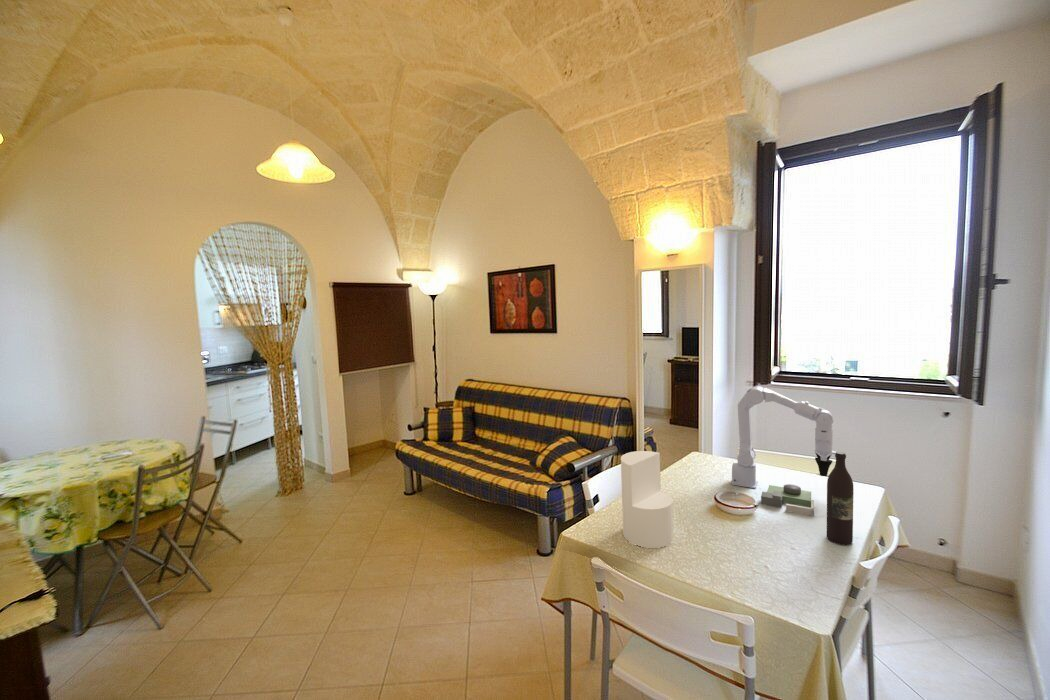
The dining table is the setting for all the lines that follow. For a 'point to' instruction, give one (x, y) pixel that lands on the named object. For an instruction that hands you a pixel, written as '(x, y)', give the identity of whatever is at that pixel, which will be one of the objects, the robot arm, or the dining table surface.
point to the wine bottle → (840, 503)
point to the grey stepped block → (772, 499)
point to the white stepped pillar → (645, 501)
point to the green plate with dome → (795, 498)
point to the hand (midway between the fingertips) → (823, 472)
